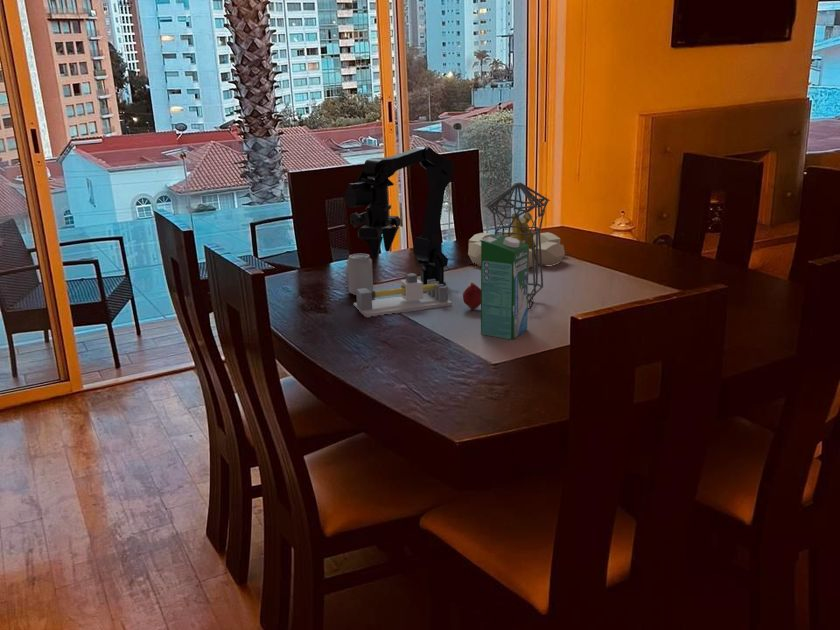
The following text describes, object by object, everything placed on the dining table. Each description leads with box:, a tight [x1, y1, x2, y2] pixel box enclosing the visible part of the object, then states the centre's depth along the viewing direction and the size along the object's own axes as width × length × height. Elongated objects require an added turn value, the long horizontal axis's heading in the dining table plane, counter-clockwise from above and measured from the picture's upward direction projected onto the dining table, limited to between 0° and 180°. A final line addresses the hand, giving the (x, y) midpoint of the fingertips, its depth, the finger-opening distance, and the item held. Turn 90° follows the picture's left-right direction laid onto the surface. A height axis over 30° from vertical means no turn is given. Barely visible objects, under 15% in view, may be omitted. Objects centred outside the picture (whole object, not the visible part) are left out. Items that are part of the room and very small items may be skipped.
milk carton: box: [480, 233, 530, 341], centre depth 193 cm, size 9×9×25 cm
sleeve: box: [400, 272, 424, 301], centre depth 220 cm, size 5×5×7 cm
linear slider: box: [353, 279, 453, 318], centre depth 220 cm, size 26×12×6 cm, turn 111°
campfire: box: [467, 212, 566, 269], centre depth 270 cm, size 35×34×17 cm
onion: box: [462, 281, 481, 311], centre depth 215 cm, size 6×6×8 cm
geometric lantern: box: [485, 182, 551, 307], centre depth 215 cm, size 16×16×35 cm
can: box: [347, 253, 374, 296], centre depth 233 cm, size 8×8×12 cm
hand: (381, 255), depth 226 cm, fingers open, 9 cm apart
